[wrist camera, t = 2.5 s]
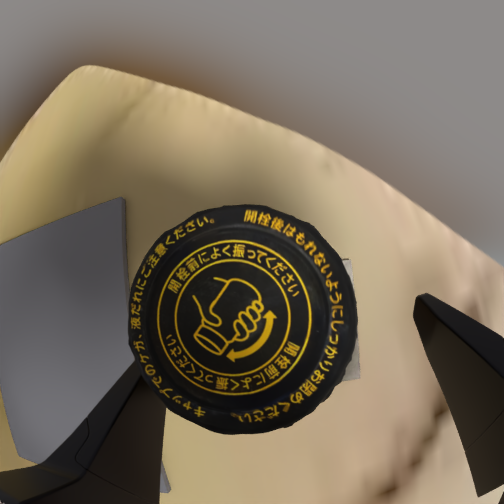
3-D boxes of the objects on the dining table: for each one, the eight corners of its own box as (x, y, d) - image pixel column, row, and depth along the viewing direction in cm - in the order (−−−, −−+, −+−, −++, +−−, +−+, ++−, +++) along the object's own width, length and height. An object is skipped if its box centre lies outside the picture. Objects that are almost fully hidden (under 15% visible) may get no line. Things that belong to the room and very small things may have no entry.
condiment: (215, 271, 18) (104, 187, 7) (350, 260, 18) (431, 154, 6) (220, 386, 17) (109, 465, 5) (359, 377, 16) (460, 451, 4)
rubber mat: (171, 489, 15) (168, 493, 14) (22, 454, 16) (18, 456, 16) (125, 199, 21) (121, 196, 20) (-3, 249, 22) (-6, 248, 22)
